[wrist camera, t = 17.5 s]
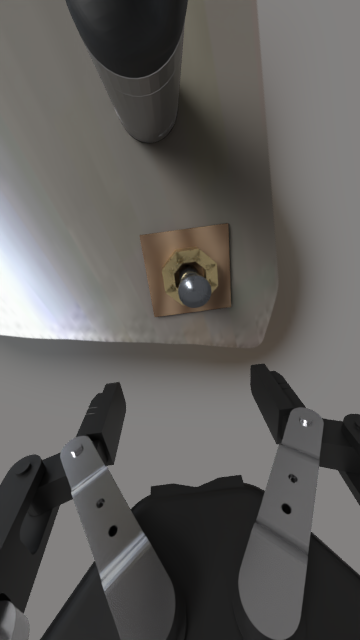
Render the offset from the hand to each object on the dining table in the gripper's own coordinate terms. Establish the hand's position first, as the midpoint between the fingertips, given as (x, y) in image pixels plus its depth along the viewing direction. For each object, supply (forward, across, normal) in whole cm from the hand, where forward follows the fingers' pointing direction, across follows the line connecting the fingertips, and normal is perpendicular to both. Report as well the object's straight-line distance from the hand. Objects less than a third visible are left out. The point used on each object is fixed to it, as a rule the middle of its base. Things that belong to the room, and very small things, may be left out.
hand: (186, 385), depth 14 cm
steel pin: (+32, -3, 0) cm, 32 cm away
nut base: (+33, -3, 0) cm, 33 cm away
